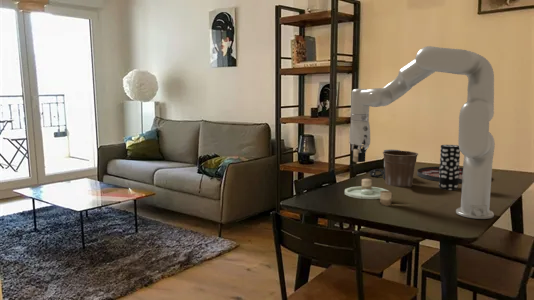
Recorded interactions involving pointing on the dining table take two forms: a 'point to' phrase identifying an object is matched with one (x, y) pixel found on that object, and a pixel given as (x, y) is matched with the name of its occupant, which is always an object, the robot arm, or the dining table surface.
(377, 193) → the pale green faceted plate
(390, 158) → the plant pot
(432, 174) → the palette wheel
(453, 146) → the white-spotted black cylinder
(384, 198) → the brown egg
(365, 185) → the bead
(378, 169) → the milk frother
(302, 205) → the dining table surface
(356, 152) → the tan egg
